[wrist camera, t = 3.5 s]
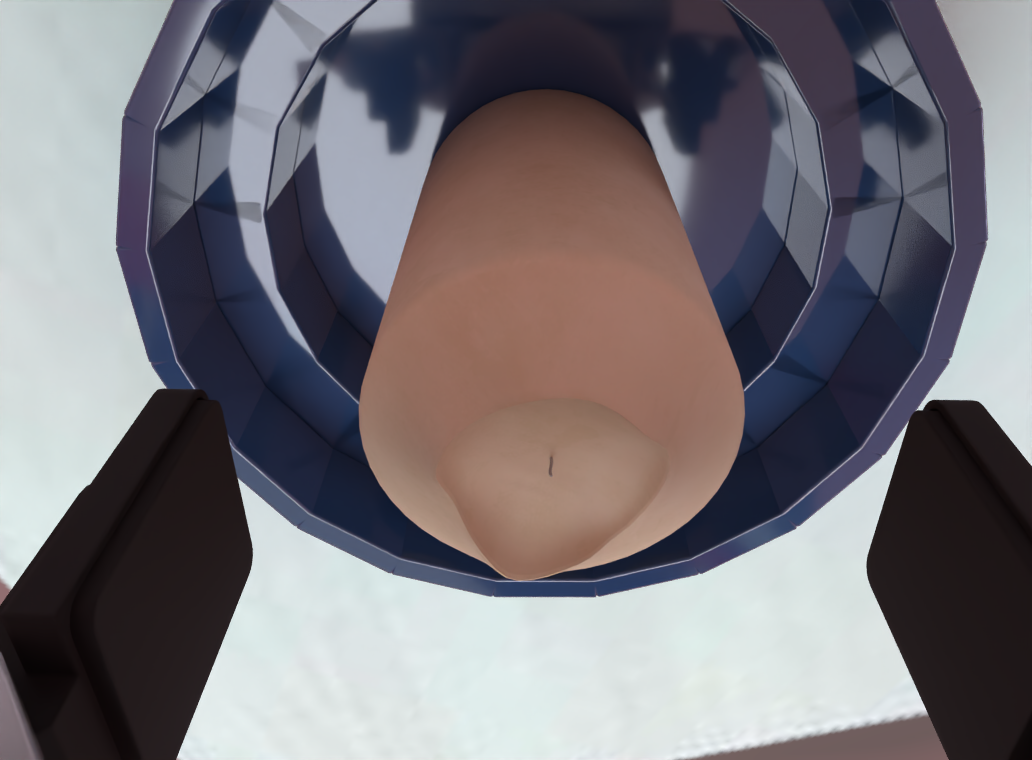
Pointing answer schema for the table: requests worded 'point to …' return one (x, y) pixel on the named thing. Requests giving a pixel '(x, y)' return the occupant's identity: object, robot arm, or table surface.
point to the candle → (549, 347)
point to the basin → (689, 175)
